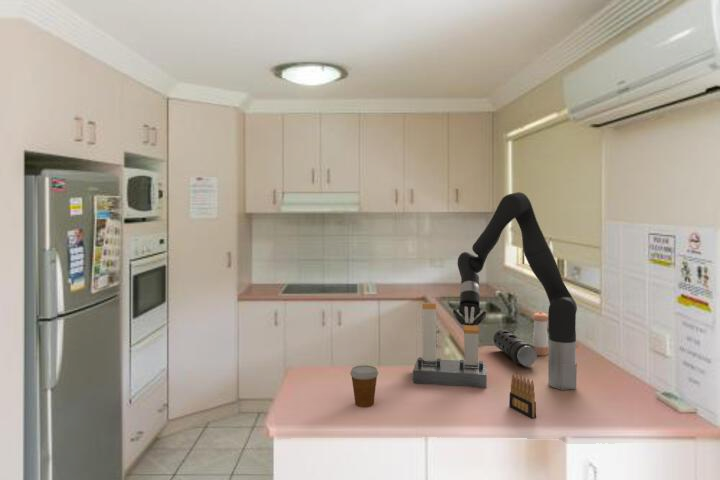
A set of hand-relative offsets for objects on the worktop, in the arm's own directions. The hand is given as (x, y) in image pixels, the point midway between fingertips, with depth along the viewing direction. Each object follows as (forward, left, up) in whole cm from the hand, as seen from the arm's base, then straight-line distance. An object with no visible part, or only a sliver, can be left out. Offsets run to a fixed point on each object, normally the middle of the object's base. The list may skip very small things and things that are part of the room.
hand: (468, 333), depth 191 cm
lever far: (+12, +11, -14) cm, 21 cm away
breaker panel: (+8, +4, -20) cm, 22 cm away
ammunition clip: (-28, -6, -20) cm, 34 cm away
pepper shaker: (+31, -49, -20) cm, 62 cm away
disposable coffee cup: (-9, +42, -20) cm, 47 cm away
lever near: (+5, -3, -14) cm, 15 cm away
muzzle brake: (+25, -33, -20) cm, 46 cm away
